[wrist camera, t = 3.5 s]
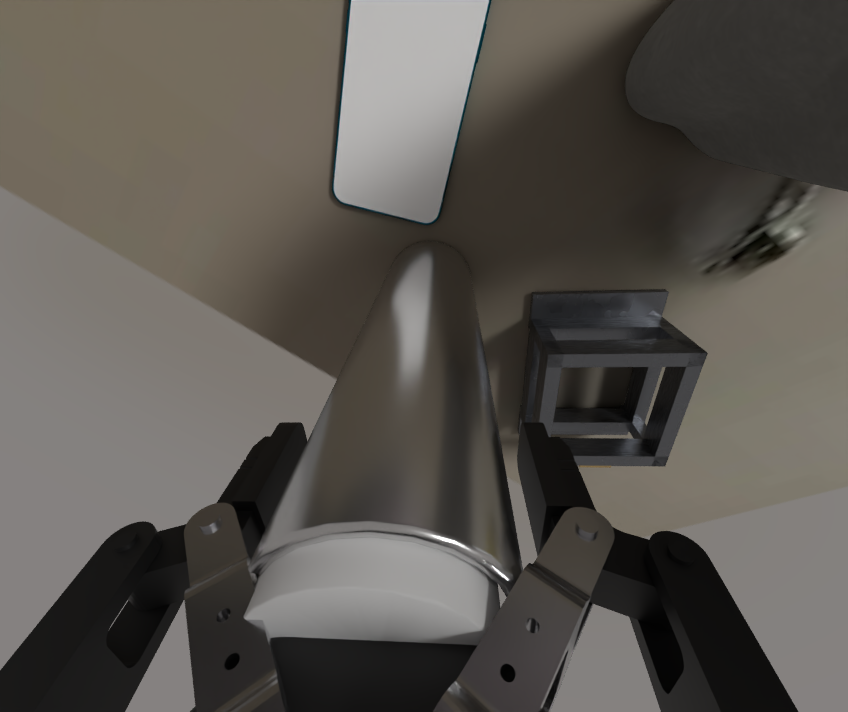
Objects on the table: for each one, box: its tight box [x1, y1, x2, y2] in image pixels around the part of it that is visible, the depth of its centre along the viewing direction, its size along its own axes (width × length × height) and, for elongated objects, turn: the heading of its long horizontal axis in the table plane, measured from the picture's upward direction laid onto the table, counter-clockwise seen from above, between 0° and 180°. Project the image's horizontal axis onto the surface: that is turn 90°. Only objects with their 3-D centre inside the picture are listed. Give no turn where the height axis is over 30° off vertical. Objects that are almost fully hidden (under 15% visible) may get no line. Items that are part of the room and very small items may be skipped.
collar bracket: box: [518, 289, 707, 468], centre depth 29 cm, size 14×10×6 cm
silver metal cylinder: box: [244, 241, 523, 646], centre depth 18 cm, size 6×6×25 cm
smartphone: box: [332, 0, 491, 225], centre depth 23 cm, size 8×1×16 cm
